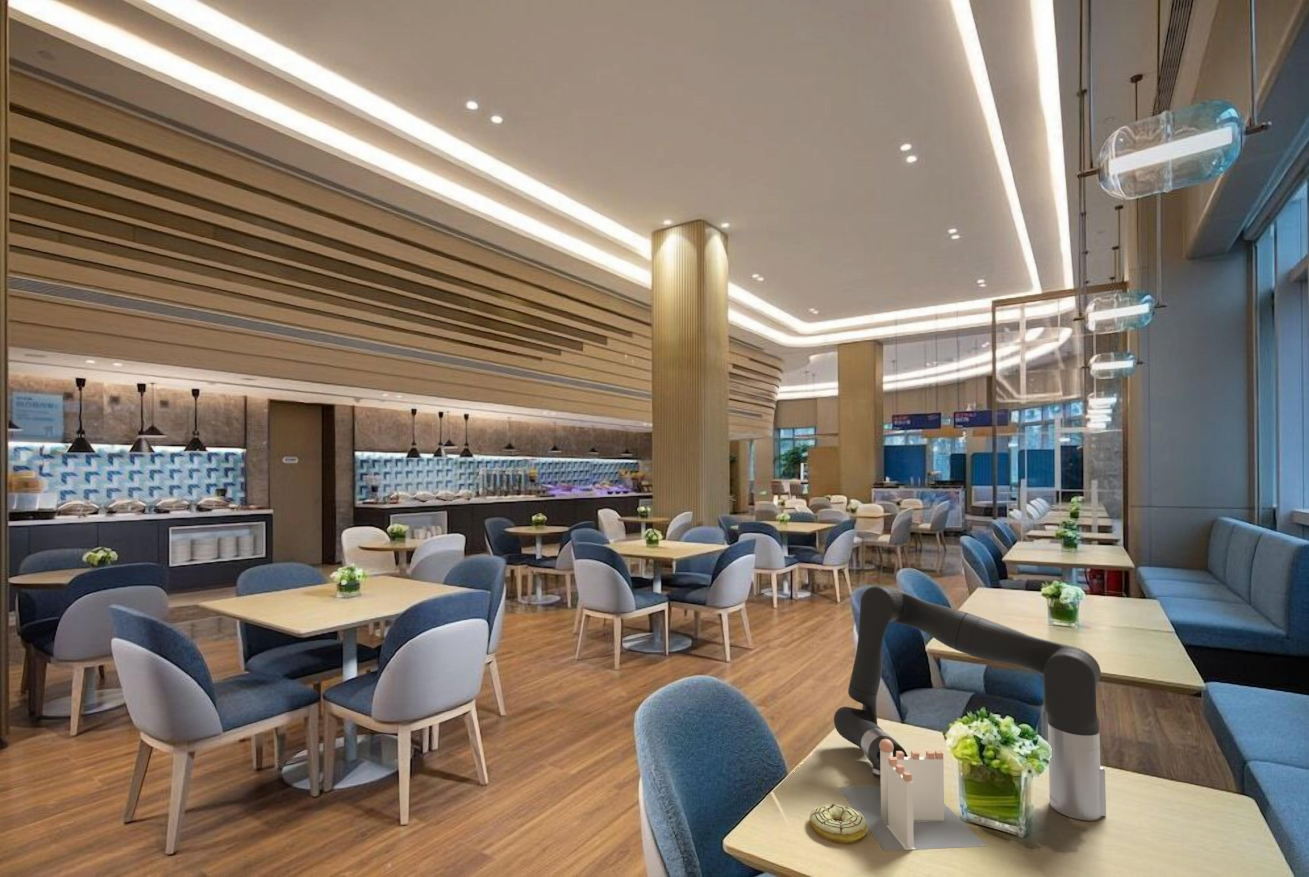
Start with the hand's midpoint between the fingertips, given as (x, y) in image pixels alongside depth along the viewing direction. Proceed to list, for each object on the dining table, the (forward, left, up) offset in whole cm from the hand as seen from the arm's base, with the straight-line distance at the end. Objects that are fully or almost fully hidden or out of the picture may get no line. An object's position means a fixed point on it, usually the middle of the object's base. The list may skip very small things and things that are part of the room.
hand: (919, 788), depth 133 cm
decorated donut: (+18, +2, -7) cm, 19 cm away
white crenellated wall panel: (0, +1, -5) cm, 5 cm away
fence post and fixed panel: (+7, +5, -6) cm, 10 cm away
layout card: (+2, -2, -6) cm, 7 cm away
